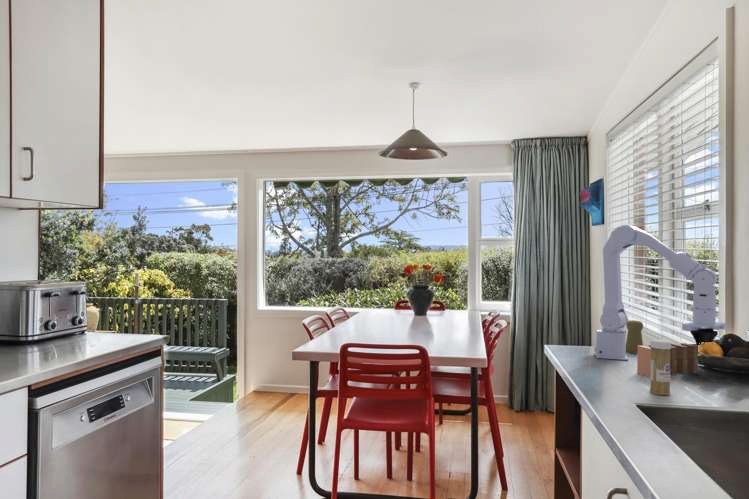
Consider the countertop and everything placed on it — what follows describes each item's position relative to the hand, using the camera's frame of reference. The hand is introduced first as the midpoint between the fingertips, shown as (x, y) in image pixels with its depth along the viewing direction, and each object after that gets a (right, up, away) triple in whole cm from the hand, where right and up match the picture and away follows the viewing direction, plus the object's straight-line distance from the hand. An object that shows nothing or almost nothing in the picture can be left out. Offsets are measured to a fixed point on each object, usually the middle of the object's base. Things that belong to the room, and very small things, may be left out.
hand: (703, 353), depth 151 cm
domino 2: (-13, -5, -4) cm, 14 cm away
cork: (-8, -5, +25) cm, 27 cm away
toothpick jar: (-27, -5, -24) cm, 37 cm away
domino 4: (-5, -5, -1) cm, 7 cm away
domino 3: (-9, -5, -3) cm, 11 cm away
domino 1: (-21, -5, -6) cm, 22 cm away
